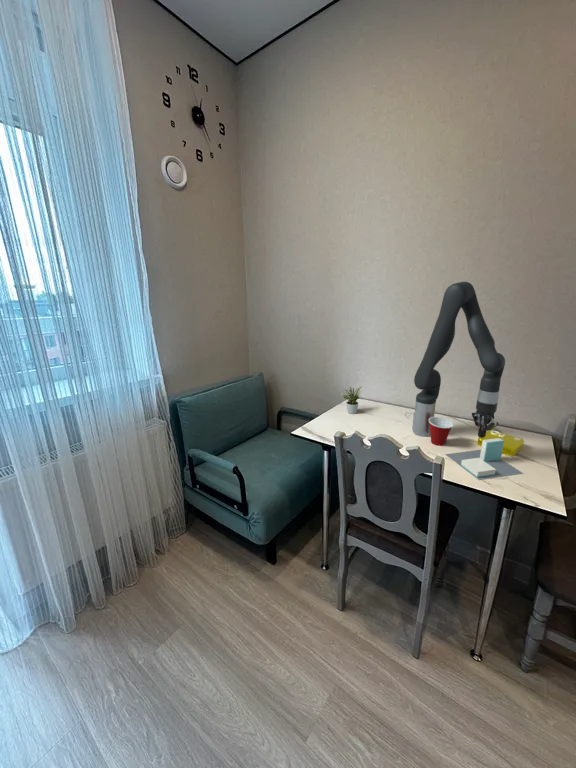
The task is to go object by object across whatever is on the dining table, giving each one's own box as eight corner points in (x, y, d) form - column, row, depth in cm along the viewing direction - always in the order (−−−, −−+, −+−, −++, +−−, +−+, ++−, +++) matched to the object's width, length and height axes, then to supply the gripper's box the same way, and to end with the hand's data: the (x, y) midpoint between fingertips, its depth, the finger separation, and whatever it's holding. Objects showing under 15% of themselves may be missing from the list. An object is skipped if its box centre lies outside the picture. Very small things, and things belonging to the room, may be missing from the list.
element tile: (475, 446, 149) (477, 437, 147) (488, 436, 158) (489, 428, 156) (512, 459, 138) (514, 449, 136) (523, 447, 147) (525, 438, 145)
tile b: (479, 458, 137) (482, 440, 134) (495, 456, 138) (499, 437, 135) (484, 461, 134) (487, 442, 132) (500, 459, 136) (504, 440, 133)
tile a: (461, 460, 132) (477, 472, 123) (478, 457, 133) (495, 469, 124) (461, 465, 132) (477, 477, 124) (477, 462, 134) (494, 474, 125)
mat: (445, 455, 141) (445, 454, 141) (484, 450, 145) (484, 448, 144) (478, 481, 123) (479, 480, 122) (523, 475, 126) (523, 473, 126)
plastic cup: (443, 452, 144) (446, 428, 140) (421, 443, 152) (423, 420, 149) (455, 445, 150) (458, 421, 147) (433, 437, 158) (436, 414, 155)
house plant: (351, 405, 202) (352, 381, 197) (369, 411, 192) (370, 386, 187) (336, 411, 193) (336, 386, 188) (354, 418, 183) (355, 391, 178)
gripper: (468, 395, 140) (463, 431, 145) (491, 406, 128) (485, 445, 133) (483, 394, 142) (477, 429, 147) (508, 404, 129) (500, 443, 134)
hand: (481, 437), depth 140 cm, fingers closed
